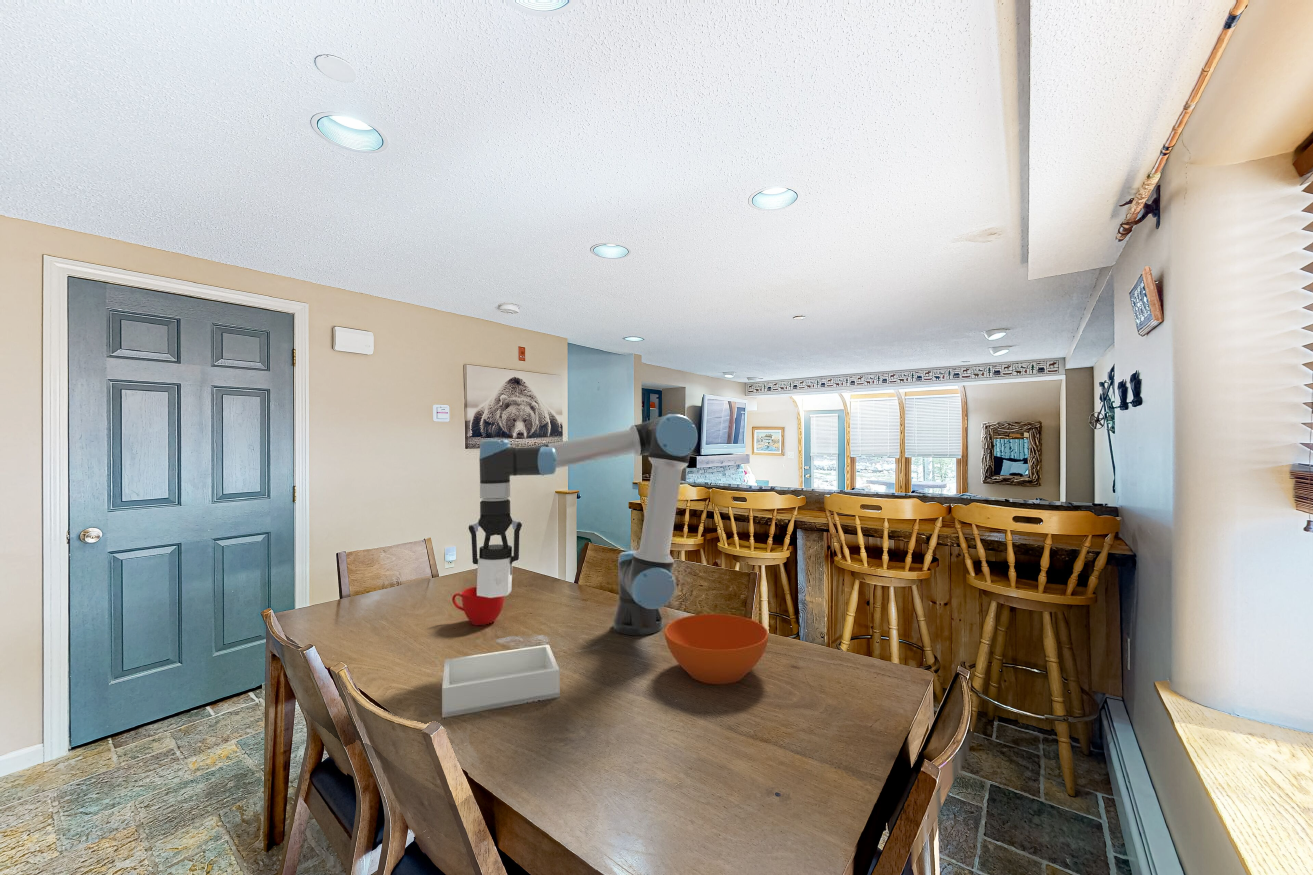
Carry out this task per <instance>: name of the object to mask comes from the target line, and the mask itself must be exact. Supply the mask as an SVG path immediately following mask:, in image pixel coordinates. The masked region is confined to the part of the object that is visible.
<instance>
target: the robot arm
mask: <svg viewBox="0 0 1313 875" xmlns="http://www.w3.org/2000/svg"><path fill="white" fill-rule="evenodd" d="M697 443H698V430H697V427H696V425H695V424H694V422H693V421H692V420H691V419H690V418H688V417H687V416H684V415H682V414H677V413H676V414H675V413H670V414H666V415H664V416H659V417H655V418H653V419H650V420H648V421H644V422H642V423H637V424H633V425H631V426H630V427H629V429H624V430H618V431H612V432H607V433H602V434H601V433H600V434H597V435H590V436H586V437H585V436H584V437H579V438H574V439H569V440H564V441H563V440H562V441H557V442H552V443H548V444H547V443H546V444H542V445H541V444H540V445H535V446H526V447H525V446H523V447H514V446H511V445H510V441H509V440H508V439H499V440H498V439H493V440H492V439H486V440H483V441H481V442H480V445H479V498H480V499H481V501H480V502H479V508H480V509H479V518H478V521H477V522H476V523H474V524H469V526H468V531H469V533H470V536H471V537H470V538H471V554H472V557H471V558H472V564H473V565H477V566H478V547H477V546H478V543H477V532H478V531H479V528H481V529H482V531H483V532H484V533H485V534H484V541H483V545H482V546H483V548H488V547H489V545H490V543H491V542H490V541H491V537H493V536H500V538H501V543H502V544H503V547H508V545H509V543H508V539H507V534H506V533H507V531H508V529H509V528H510V526H511V525H512V529H513V552H512V554H513V555H512V557H511V561H510V564H511V574H512V575H513V563H514V562H516V561H518V560H519V559H520V531H521V529H522V527H523V524H522V522H521V521H516V520H514V519H513V518H512V517H511V500H510V499H509V498H510V497H511V477H512V476H515V477H516V476H543V477H544V476H547V475H548V476H549V475H554V474H555V473H556V471H557V469H559V468H560V469H561V468H565V467H571V466H575V465H582V464H586V463H592V462H597V461H602V460H607V459H612V458H618V457H623V456H629V455H632V454H633V455H634V456H636V457H640V456H647V455H648V461H649V462H650V464H652V465H651V466H652V468H651V471H650V472H651V473H650V480H649V485H648V492H647V499H646V503H645V504H646V506H645V511H644V516H643V525H642V531H641V538H640V544H639V548H638V550H630V551H622V552H621V553H619V554H618V561H617V565H618V566H617V567H618V568H617V569H618V570H617V571H618V604H617V607H616V610H615V614H614V616H613V624H612V625H613V626H612V627H613V629H614V631H615V632H617V633H620V634H624V635H629V636H643V635H650V634H654V633H657V632H659V631H660V630H662V629H663V627H664V620H663V616H662V615H663V614H662V613H661V610H660V608H662V607H664V606H665V605H667V604H668V603H669V602H670V601H671V600H672V598H673V596H674V595H675V591H676V582H675V578H674V576H673V569H674V561H675V560H674V558H673V557H672V556H671V553H670V552H671V546H672V538H673V533H674V525H675V519H676V514H677V505H678V499H679V493H680V487H681V481H682V480H681V479H682V473H683V469H685V468H686V467H687V466H688V465H689V462H690V455H691V452H692V451H693V450H694V449H695V447H696V446H697Z"/></svg>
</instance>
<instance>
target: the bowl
mask: <svg viewBox="0 0 1313 875" xmlns="http://www.w3.org/2000/svg"><path fill="white" fill-rule="evenodd" d="M664 638H665V642H666V645H667V647H668V650H669V652H670V653H671V655H672V657H673V658H674V660H676V662H677V663H678V664H679V665H680V666H681V668H683V669H684V670H685V672H686V673H687V674H689V676H690V677H692V678H693V679H695V680H696V681H699V682H702V683H704V684H705V683H706V684H711V685H727V684H732V683H736V682H738V681H740V680H742V679H743V678H744V677H745V676H746V675H747V674H748V673H749V672H750V671H751V670H752V669H753V668H754V667H756V665H757V664H758V663H759V661H760V660H761V659H762V657H763V655H764V653H765V651H766V648H767V647H768V646H767V645H768V642H769V632H768V630H767V627H766V626H764V625H763V624H761V623H760V622H758V621H756V620H753V619H751V618H748V617H744V616H740V615H739V616H738V615H733V614H726V613H700V614H694V615H693V614H692V615H689V616H688V615H687V616H683V617H680V618H677V619H675V620H673V621H671V622H670V623H669V624H667V626H666V627H665V629H664Z"/></svg>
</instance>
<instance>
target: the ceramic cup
mask: <svg viewBox="0 0 1313 875" xmlns="http://www.w3.org/2000/svg"><path fill="white" fill-rule="evenodd" d="M457 596H458V597H460V598H461V603H462V606H461V605H459V604H458V602H457V600H456V597H457ZM451 600H452V604H453V605H454V607H456V608H457V609H458V610H460V611H463V612H464V615H465V616H466V618H467V620H468V621H469V622H471V623H472V625H473V626H478V625H482V626H487V625H486V624H488V625H490V624H489V623H491V624H493V623H494V622H495V621H496V620H497V618H498V617H499V616H500V614H501V612H502V610H503V607H504V601H505V596H500V597H493V598H488V597H483V596H477V586H472V587H469V588H466V589H464V590H463V591H462V592H461V593H459V592H458V593H457V592H456V593H455V594H454V595H452V598H451ZM492 622H493V623H492Z"/></svg>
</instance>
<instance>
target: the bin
mask: <svg viewBox="0 0 1313 875" xmlns="http://www.w3.org/2000/svg"><path fill="white" fill-rule="evenodd" d="M443 666H444V668H443V677H442V685H441V686H442V687H441V704H442V705H441V714H442V715H441V716H442V719H444V717H445V718H449V717H455V716H461V715H462V716H463V715H466V714H472V713H477V712H482V711H484V712H485V711H488V710H489V711H490V710H493V709H495V710H496V709H500V708H506V707H511V706H515V705H521V704H528V703H533V701H534V702H538V700H540V701H543V700H544V701H545V700H551V699H556V698H560V697H561V694H560V692H561V690H560V689H561V687H560V668H559V665H558V663H557V661H556V659H555V656H554V654H553V651H552V649H551V647H550V645H549V644H544V645H537V646H529V647H523V648H517V649H508V650H502V651H501V650H500V651H495V652H488V653H483V654H482V653H480V654H474V655H468V656H461V657H454V658H447V659H444V665H443ZM527 702H528V703H527Z"/></svg>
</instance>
